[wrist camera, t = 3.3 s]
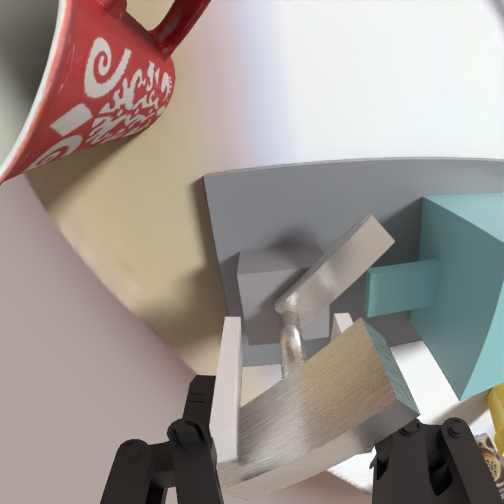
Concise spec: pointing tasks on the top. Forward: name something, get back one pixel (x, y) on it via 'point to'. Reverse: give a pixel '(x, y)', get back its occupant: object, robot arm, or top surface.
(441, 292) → the cover
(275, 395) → the grey flat angled piece
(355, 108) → the top surface
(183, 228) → the top surface
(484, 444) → the cookie box
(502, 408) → the plant pot
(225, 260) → the housing
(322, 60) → the top surface
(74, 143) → the mug
